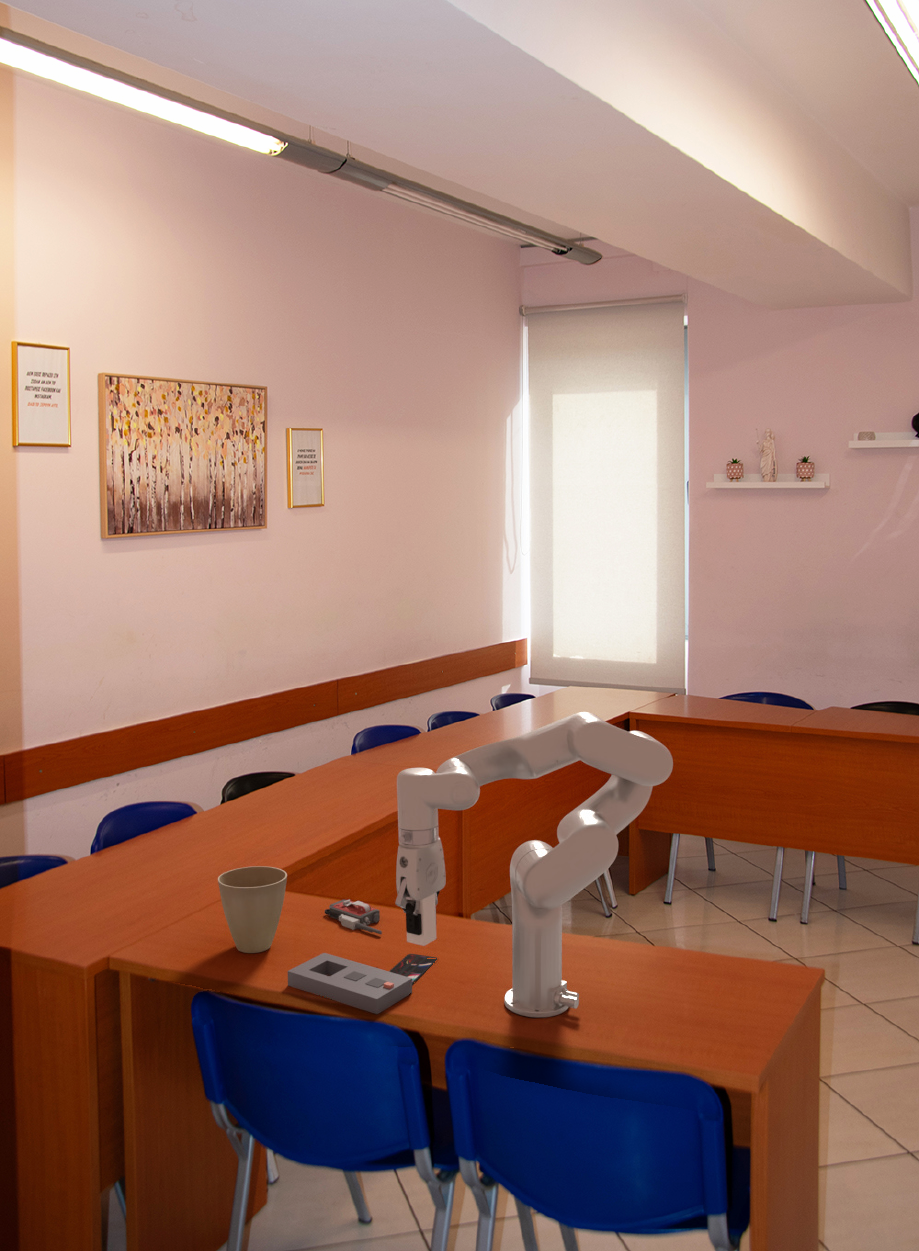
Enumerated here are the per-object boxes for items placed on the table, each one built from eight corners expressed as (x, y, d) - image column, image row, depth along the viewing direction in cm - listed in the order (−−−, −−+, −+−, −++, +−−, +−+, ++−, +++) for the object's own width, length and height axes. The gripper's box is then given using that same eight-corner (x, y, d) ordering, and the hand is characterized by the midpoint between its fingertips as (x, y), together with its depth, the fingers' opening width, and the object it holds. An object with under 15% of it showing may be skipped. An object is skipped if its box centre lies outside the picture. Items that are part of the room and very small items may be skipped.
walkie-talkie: (317, 919, 248) (377, 940, 235) (317, 901, 248) (377, 921, 235) (344, 909, 255) (404, 928, 242) (344, 891, 254) (404, 910, 242)
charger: (436, 938, 199) (435, 891, 198) (424, 945, 196) (422, 898, 195) (419, 934, 201) (418, 888, 200) (407, 941, 198) (405, 894, 197)
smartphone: (439, 957, 224) (410, 985, 210) (439, 960, 224) (410, 988, 210) (408, 952, 227) (378, 980, 213) (408, 955, 227) (378, 983, 213)
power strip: (412, 992, 208) (411, 975, 207) (377, 1014, 198) (376, 995, 198) (324, 966, 220) (324, 949, 220) (287, 985, 211) (287, 968, 211)
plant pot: (297, 952, 228) (295, 881, 226) (229, 965, 221) (227, 891, 220) (277, 929, 241) (276, 861, 240) (212, 940, 235) (210, 871, 233)
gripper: (407, 849, 187) (410, 948, 189) (460, 826, 201) (462, 918, 203) (374, 843, 192) (378, 940, 193) (428, 820, 205) (431, 911, 207)
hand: (421, 928), depth 198 cm, fingers closed on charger, 4 cm apart
